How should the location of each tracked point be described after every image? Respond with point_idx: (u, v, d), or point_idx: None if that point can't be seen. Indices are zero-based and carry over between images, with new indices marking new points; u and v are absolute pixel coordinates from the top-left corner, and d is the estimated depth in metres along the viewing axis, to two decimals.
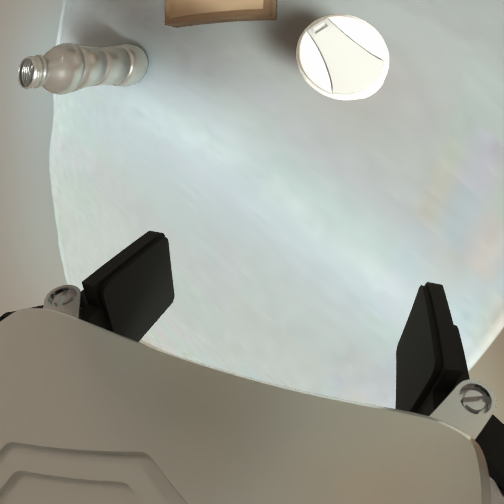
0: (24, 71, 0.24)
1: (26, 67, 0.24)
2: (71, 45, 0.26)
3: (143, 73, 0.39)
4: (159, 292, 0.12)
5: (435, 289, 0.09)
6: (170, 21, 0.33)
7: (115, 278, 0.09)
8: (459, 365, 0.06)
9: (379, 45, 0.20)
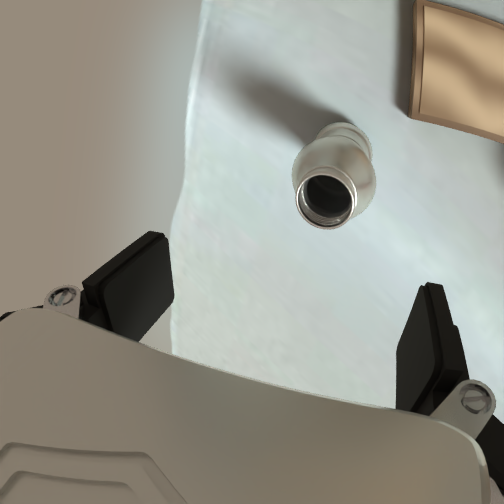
0: None
1: (302, 179, 0.20)
2: (361, 151, 0.22)
3: None
4: (159, 292, 0.12)
5: (435, 289, 0.09)
6: (418, 116, 0.28)
7: (115, 278, 0.09)
8: (459, 366, 0.06)
9: None
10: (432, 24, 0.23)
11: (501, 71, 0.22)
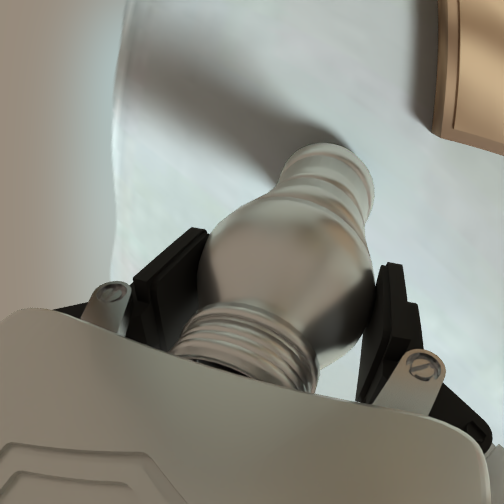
0: None
1: None
2: (347, 236, 0.10)
3: None
4: None
5: (394, 268, 0.10)
6: (452, 134, 0.16)
7: (167, 273, 0.09)
8: (407, 335, 0.07)
9: None
10: None
11: None
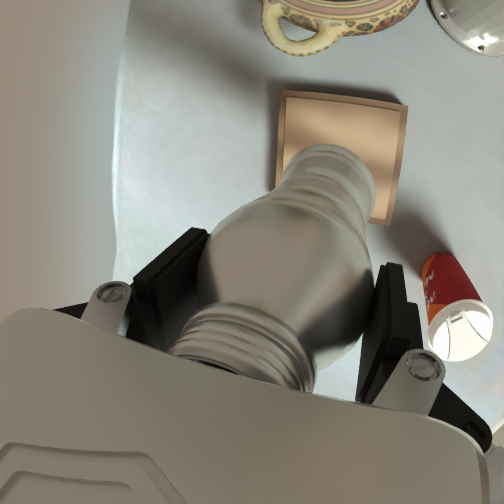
0: None
1: None
2: (347, 237, 0.10)
3: None
4: None
5: (393, 268, 0.10)
6: None
7: (167, 273, 0.09)
8: (407, 334, 0.07)
9: (490, 332, 0.25)
10: (293, 115, 0.33)
11: (367, 153, 0.32)
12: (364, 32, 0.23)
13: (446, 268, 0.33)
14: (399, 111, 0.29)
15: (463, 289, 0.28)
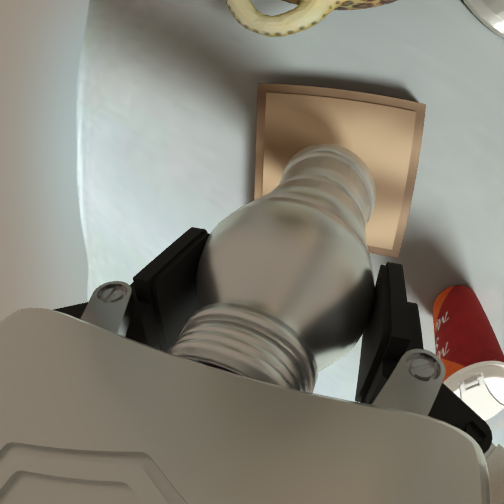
0: None
1: (179, 336, 0.08)
2: (347, 237, 0.10)
3: None
4: None
5: (393, 268, 0.10)
6: None
7: (167, 274, 0.09)
8: (407, 334, 0.07)
9: None
10: (274, 116, 0.26)
11: (371, 165, 0.25)
12: (367, 3, 0.15)
13: (463, 309, 0.26)
14: (415, 111, 0.22)
15: (484, 343, 0.21)
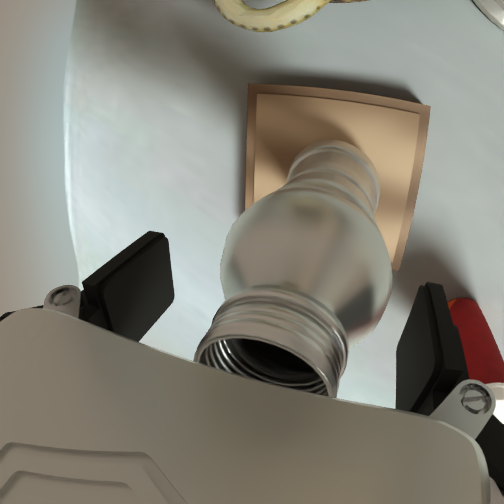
0: None
1: (215, 320, 0.08)
2: (368, 225, 0.10)
3: None
4: (159, 292, 0.12)
5: (435, 289, 0.09)
6: None
7: (115, 278, 0.09)
8: (459, 366, 0.06)
9: None
10: (266, 119, 0.24)
11: None
12: None
13: (467, 325, 0.24)
14: (419, 114, 0.20)
15: (488, 363, 0.19)
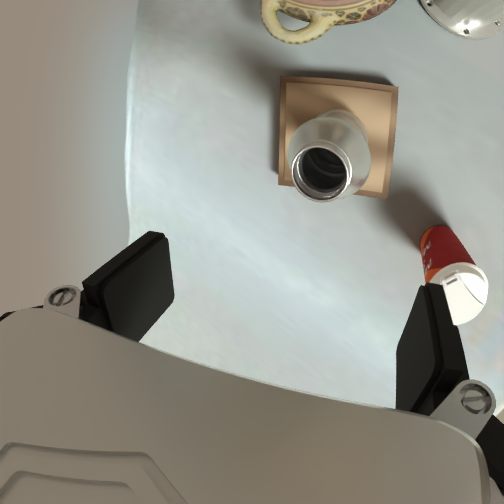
0: (294, 161, 0.20)
1: None
2: (355, 129, 0.22)
3: None
4: (159, 292, 0.12)
5: (435, 289, 0.09)
6: (284, 182, 0.41)
7: (115, 278, 0.09)
8: (459, 366, 0.06)
9: (485, 295, 0.27)
10: (293, 99, 0.35)
11: None
12: (353, 21, 0.25)
13: (442, 237, 0.35)
14: (391, 92, 0.31)
15: (458, 255, 0.30)
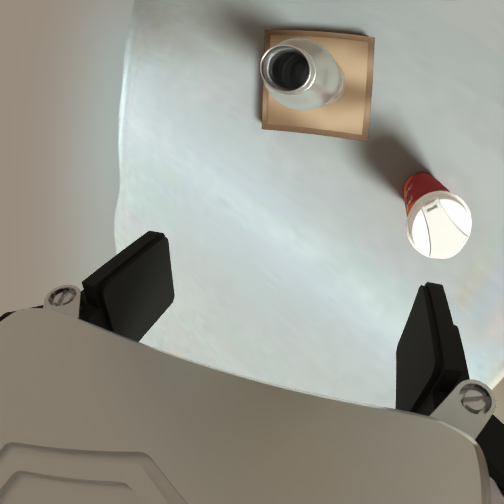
0: (264, 62, 0.20)
1: (266, 57, 0.20)
2: (323, 47, 0.22)
3: None
4: (159, 292, 0.12)
5: (435, 289, 0.09)
6: (267, 126, 0.41)
7: (115, 278, 0.09)
8: (459, 365, 0.06)
9: (468, 225, 0.28)
10: None
11: None
12: None
13: (423, 179, 0.36)
14: (367, 42, 0.32)
15: (438, 188, 0.31)
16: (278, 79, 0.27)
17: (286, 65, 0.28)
